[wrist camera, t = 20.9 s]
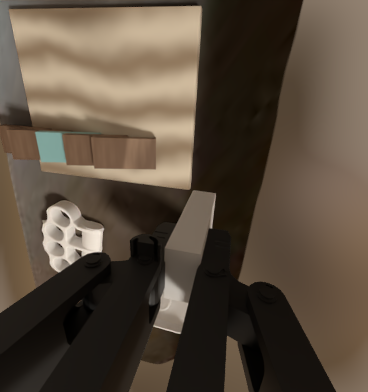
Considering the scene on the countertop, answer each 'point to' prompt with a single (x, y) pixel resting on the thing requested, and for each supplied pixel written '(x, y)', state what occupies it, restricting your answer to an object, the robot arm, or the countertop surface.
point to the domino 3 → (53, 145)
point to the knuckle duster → (69, 235)
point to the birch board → (115, 80)
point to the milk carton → (171, 315)
